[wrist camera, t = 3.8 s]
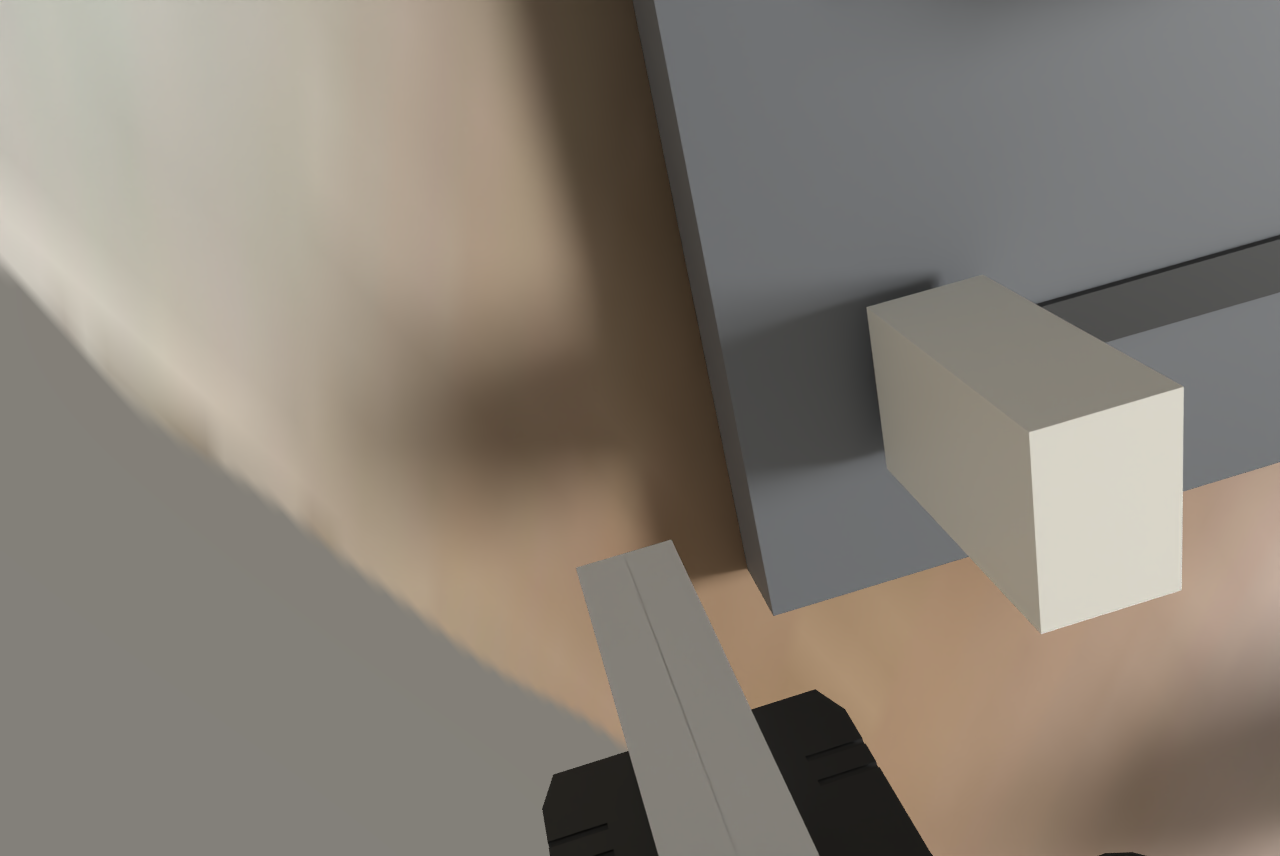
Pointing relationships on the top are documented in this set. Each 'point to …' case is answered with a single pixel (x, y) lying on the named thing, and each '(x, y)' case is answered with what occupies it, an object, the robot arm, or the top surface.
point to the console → (960, 227)
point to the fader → (1033, 448)
